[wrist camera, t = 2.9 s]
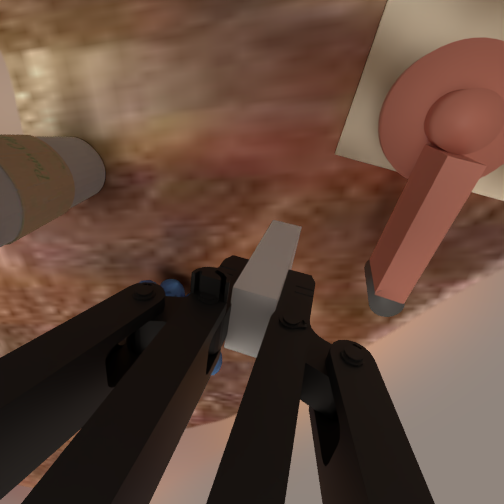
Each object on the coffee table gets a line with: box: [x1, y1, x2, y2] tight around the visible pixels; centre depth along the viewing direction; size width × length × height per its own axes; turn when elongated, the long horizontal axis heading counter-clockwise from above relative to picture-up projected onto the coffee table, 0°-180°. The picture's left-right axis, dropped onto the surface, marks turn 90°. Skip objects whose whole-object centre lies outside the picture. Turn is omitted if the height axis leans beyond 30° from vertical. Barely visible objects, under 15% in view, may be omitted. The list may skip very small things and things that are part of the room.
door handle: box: [364, 37, 504, 317], centre depth 16 cm, size 14×7×6 cm, turn 167°
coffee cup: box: [0, 135, 105, 247], centre depth 25 cm, size 9×9×15 cm
